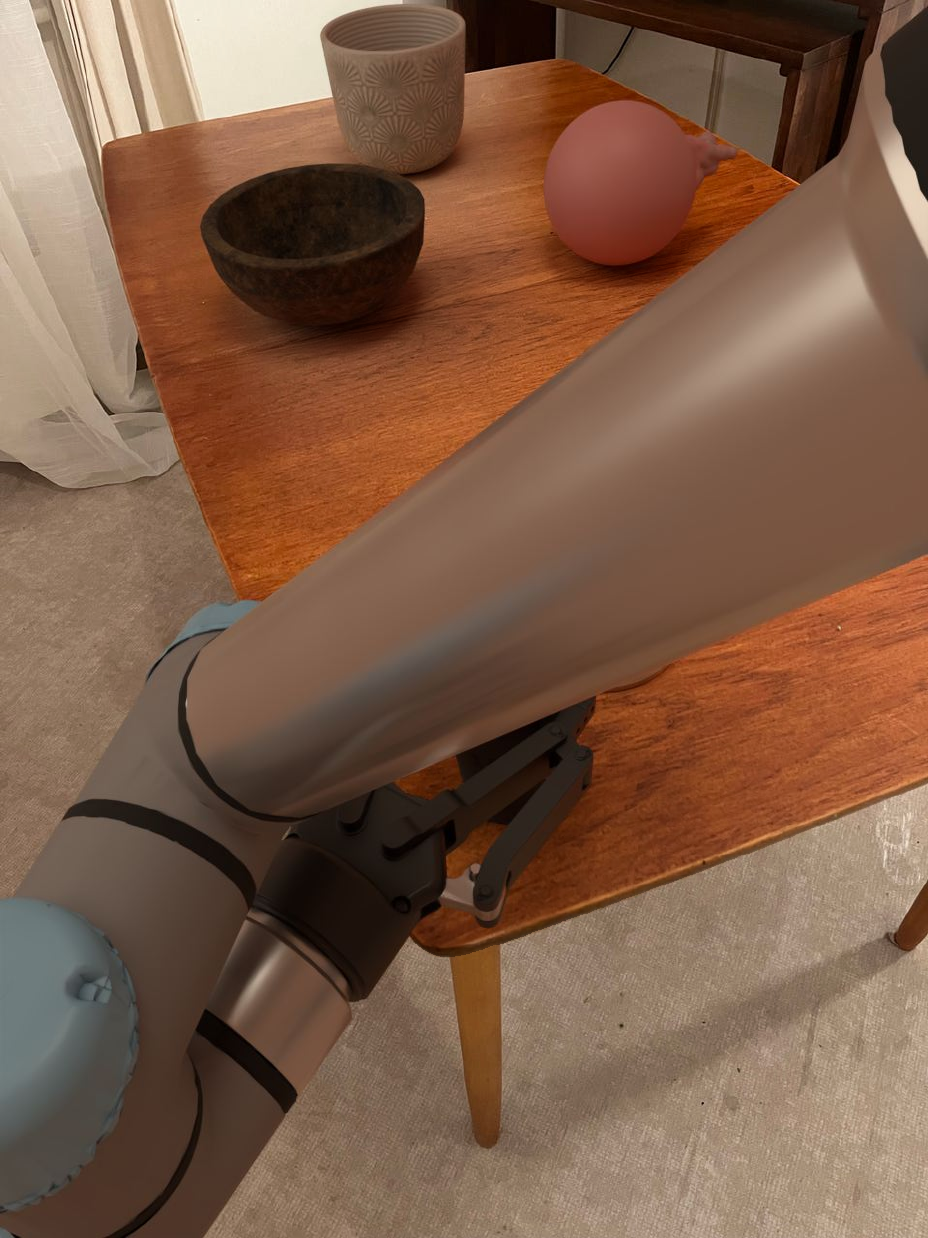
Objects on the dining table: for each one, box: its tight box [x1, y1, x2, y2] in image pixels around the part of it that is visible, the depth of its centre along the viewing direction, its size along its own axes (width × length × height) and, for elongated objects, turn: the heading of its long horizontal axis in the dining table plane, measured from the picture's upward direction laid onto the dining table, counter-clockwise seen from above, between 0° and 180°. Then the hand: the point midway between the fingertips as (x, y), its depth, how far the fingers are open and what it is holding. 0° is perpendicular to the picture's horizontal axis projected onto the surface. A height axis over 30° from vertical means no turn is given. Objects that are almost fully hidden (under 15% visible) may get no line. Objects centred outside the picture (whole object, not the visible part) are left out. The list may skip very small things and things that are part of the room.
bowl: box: [199, 162, 426, 327], centre depth 98 cm, size 22×22×10 cm
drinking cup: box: [455, 719, 547, 825], centre depth 54 cm, size 8×8×20 cm
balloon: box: [543, 99, 739, 267], centre depth 100 cm, size 15×20×15 cm
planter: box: [319, 3, 467, 175], centre depth 119 cm, size 17×17×15 cm
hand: (544, 622), depth 56 cm, fingers closed on drinking cup, 7 cm apart
